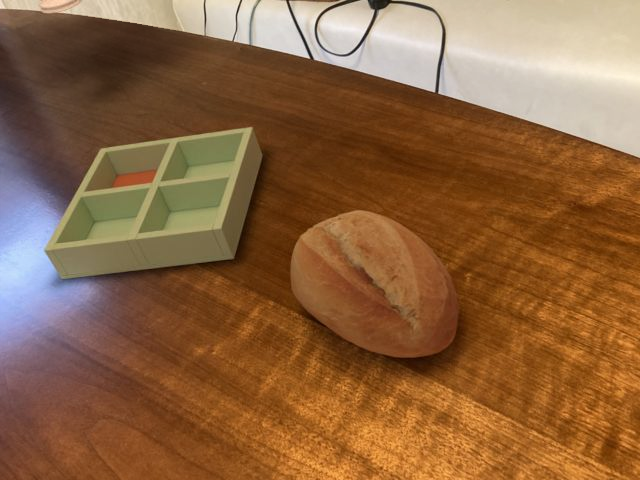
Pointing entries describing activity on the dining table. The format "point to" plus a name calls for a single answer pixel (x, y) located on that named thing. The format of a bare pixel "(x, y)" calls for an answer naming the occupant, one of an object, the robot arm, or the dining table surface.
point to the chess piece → (57, 5)
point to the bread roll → (375, 285)
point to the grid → (158, 205)
